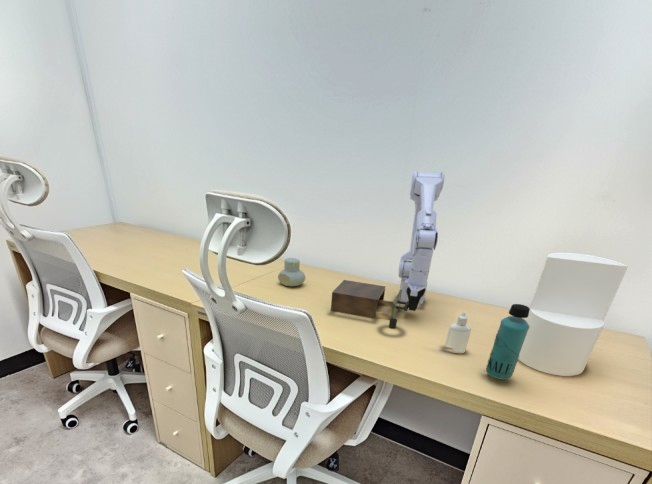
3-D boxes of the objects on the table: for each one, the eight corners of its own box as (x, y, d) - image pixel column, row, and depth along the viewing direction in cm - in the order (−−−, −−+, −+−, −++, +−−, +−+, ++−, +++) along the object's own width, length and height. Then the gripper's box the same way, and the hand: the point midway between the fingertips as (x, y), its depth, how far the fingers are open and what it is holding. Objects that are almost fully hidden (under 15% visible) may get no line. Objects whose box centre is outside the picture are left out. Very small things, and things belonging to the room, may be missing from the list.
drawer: (409, 310, 137) (413, 291, 133) (403, 326, 125) (407, 305, 122) (358, 301, 142) (360, 283, 139) (347, 315, 131) (349, 296, 128)
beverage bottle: (503, 371, 104) (526, 300, 94) (515, 385, 99) (542, 311, 89) (479, 371, 104) (500, 300, 94) (490, 385, 98) (514, 311, 88)
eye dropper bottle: (461, 356, 111) (471, 317, 105) (441, 350, 114) (451, 311, 108) (466, 351, 114) (477, 313, 108) (447, 344, 117) (457, 307, 111)
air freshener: (308, 285, 158) (309, 260, 153) (294, 290, 152) (294, 265, 147) (289, 278, 164) (289, 255, 159) (274, 283, 159) (274, 258, 154)
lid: (404, 329, 125) (406, 317, 123) (401, 338, 119) (403, 326, 118) (382, 325, 127) (384, 313, 125) (378, 333, 122) (380, 321, 120)
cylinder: (512, 340, 121) (543, 249, 107) (576, 352, 115) (617, 257, 102) (517, 367, 106) (553, 266, 93) (590, 381, 101) (640, 276, 88)
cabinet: (382, 307, 140) (385, 286, 136) (374, 322, 129) (377, 299, 125) (342, 300, 145) (343, 279, 141) (330, 314, 133) (332, 292, 129)
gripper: (410, 261, 130) (403, 300, 136) (403, 274, 118) (396, 315, 124) (432, 264, 128) (424, 303, 134) (427, 277, 116) (419, 319, 122)
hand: (412, 309), depth 129 cm, fingers closed, pressing on drawer
